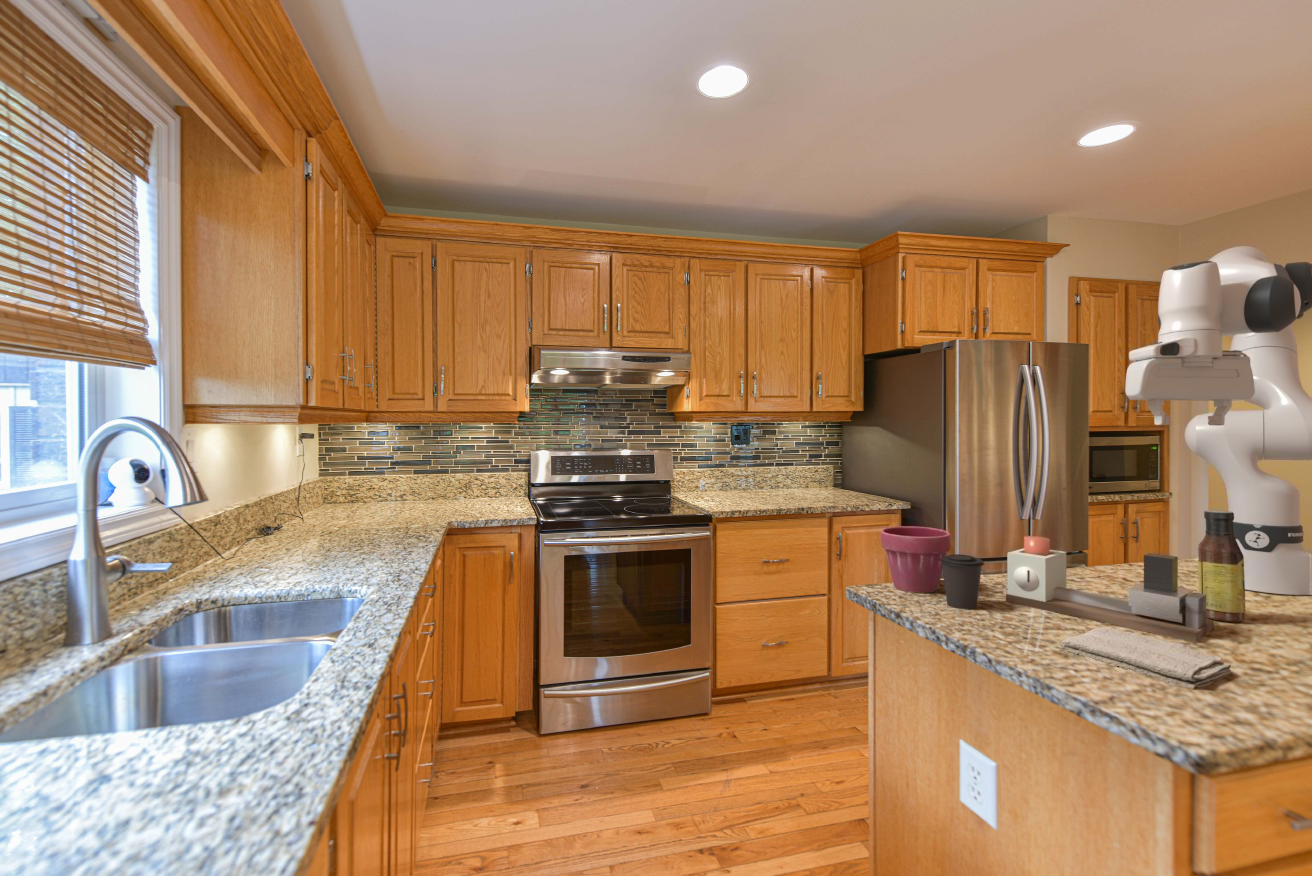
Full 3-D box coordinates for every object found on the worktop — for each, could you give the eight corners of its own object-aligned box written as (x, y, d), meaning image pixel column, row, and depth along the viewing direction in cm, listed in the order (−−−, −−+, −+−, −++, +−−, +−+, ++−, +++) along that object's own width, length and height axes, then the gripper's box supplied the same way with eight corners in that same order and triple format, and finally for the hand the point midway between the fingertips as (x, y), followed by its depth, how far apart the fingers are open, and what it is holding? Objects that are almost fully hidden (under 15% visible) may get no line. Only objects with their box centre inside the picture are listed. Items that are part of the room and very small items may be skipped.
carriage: (1143, 606, 111) (1143, 550, 111) (1192, 615, 106) (1192, 556, 105) (1128, 614, 107) (1128, 555, 107) (1179, 624, 101) (1179, 562, 101)
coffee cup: (983, 613, 114) (983, 561, 114) (937, 607, 119) (936, 557, 119) (985, 603, 121) (985, 554, 121) (941, 597, 126) (941, 550, 125)
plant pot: (880, 592, 130) (879, 534, 130) (881, 577, 143) (881, 524, 143) (953, 599, 124) (953, 538, 124) (948, 583, 137) (948, 527, 137)
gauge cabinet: (1029, 593, 128) (1029, 546, 128) (1066, 600, 122) (1066, 552, 122) (1006, 601, 122) (1006, 553, 122) (1044, 609, 116) (1044, 558, 116)
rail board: (1029, 592, 129) (1029, 562, 128) (1213, 628, 104) (1214, 592, 104) (1005, 601, 122) (1005, 570, 122) (1196, 642, 98) (1196, 603, 98)
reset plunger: (1029, 561, 125) (1029, 535, 125) (1053, 565, 122) (1053, 538, 122) (1020, 564, 123) (1020, 537, 123) (1044, 568, 119) (1044, 540, 119)
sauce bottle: (1254, 624, 107) (1255, 514, 106) (1214, 622, 108) (1214, 513, 108) (1227, 613, 113) (1227, 509, 113) (1189, 612, 114) (1189, 508, 114)
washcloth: (1200, 695, 80) (1200, 672, 80) (1056, 653, 96) (1056, 633, 96) (1235, 677, 86) (1235, 655, 86) (1095, 639, 101) (1095, 621, 101)
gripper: (1233, 352, 112) (1233, 426, 112) (1119, 352, 113) (1119, 425, 113) (1265, 347, 106) (1265, 425, 105) (1144, 347, 107) (1144, 423, 107)
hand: (1189, 425), depth 109 cm, fingers open, 8 cm apart
